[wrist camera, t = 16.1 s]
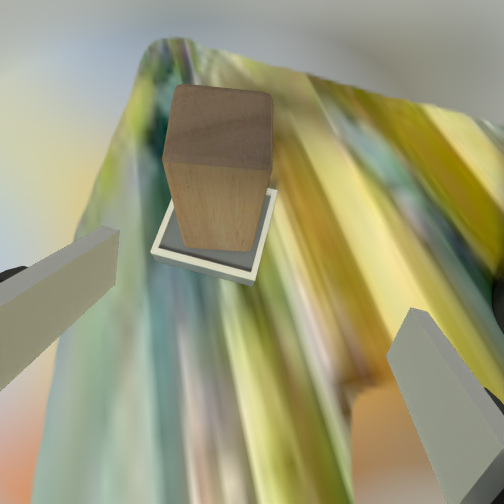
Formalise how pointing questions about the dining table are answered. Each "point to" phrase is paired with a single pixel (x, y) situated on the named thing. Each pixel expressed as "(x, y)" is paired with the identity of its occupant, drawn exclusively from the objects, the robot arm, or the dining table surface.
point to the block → (219, 164)
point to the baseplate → (213, 261)
